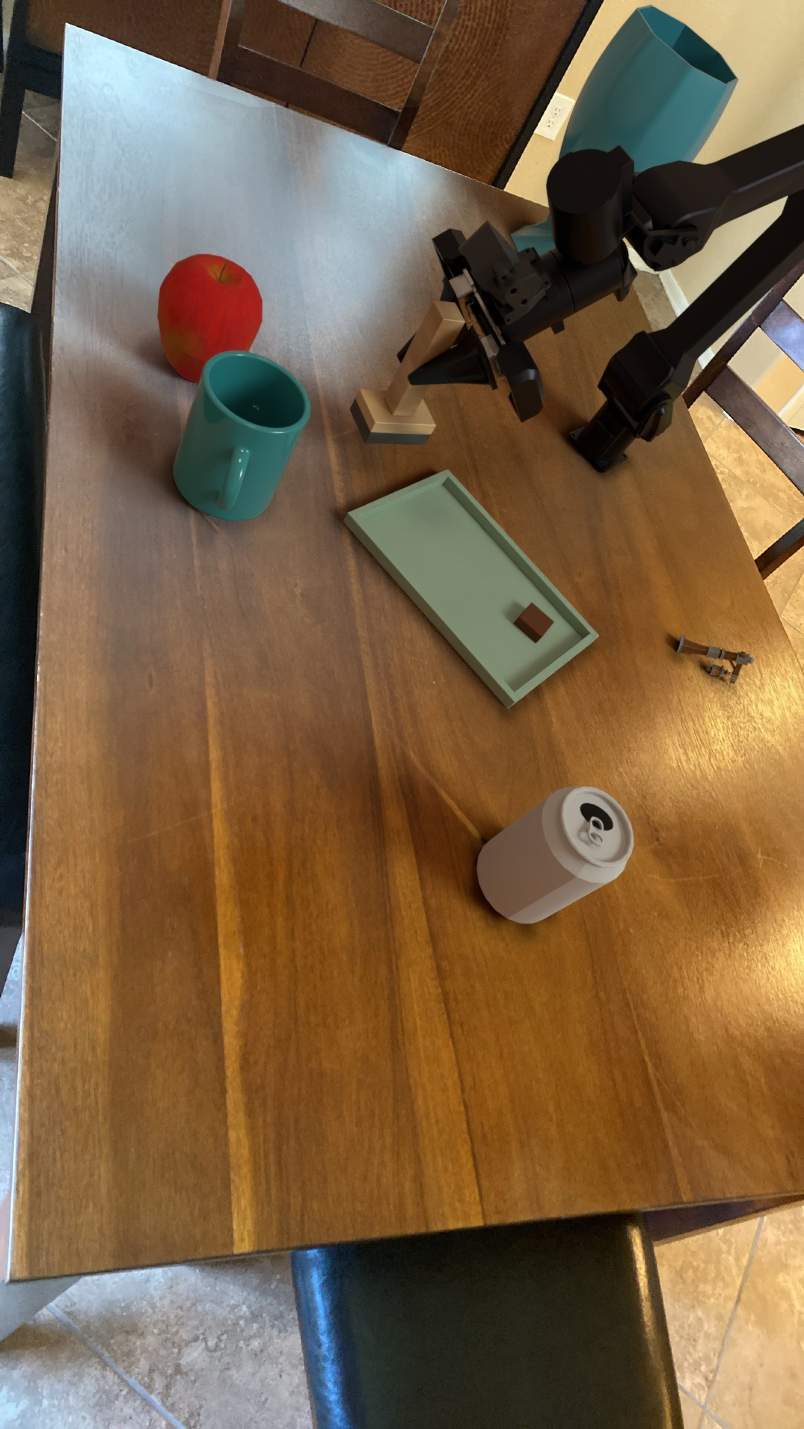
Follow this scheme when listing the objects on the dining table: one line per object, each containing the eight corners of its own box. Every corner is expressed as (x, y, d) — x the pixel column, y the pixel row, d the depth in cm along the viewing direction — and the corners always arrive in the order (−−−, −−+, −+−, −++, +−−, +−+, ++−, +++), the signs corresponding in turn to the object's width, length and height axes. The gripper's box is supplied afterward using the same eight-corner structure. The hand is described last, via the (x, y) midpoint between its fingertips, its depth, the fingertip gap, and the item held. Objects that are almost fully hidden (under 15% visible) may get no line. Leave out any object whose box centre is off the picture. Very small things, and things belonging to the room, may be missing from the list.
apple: (229, 345, 88) (265, 238, 79) (248, 410, 85) (287, 306, 76) (136, 329, 84) (163, 213, 74) (152, 397, 80) (182, 284, 71)
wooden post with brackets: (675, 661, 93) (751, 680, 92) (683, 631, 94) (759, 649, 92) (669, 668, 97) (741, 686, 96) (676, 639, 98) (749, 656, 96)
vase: (522, 281, 122) (660, 54, 100) (491, 207, 130) (613, -21, 107) (615, 312, 131) (763, 108, 108) (581, 239, 138) (712, 35, 115)
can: (558, 865, 73) (649, 807, 64) (540, 943, 69) (636, 893, 60) (484, 823, 72) (565, 758, 63) (460, 900, 67) (545, 842, 58)
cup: (155, 529, 73) (187, 430, 64) (180, 434, 79) (211, 333, 71) (259, 563, 76) (302, 473, 67) (274, 469, 82) (315, 376, 74)
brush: (409, 412, 88) (471, 297, 78) (424, 445, 87) (491, 332, 76) (349, 409, 85) (406, 287, 74) (364, 443, 83) (425, 324, 72)
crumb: (525, 608, 87) (532, 601, 86) (548, 628, 87) (554, 621, 86) (512, 623, 85) (519, 616, 84) (535, 643, 85) (542, 637, 84)
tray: (440, 480, 92) (447, 468, 91) (589, 645, 89) (599, 635, 88) (340, 524, 82) (347, 512, 81) (504, 711, 80) (514, 702, 78)
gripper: (501, 137, 73) (338, 234, 75) (596, 291, 66) (413, 391, 69) (524, 238, 83) (379, 321, 86) (608, 381, 76) (449, 465, 79)
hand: (403, 369), depth 79 cm, fingers closed on brush, 2 cm apart
